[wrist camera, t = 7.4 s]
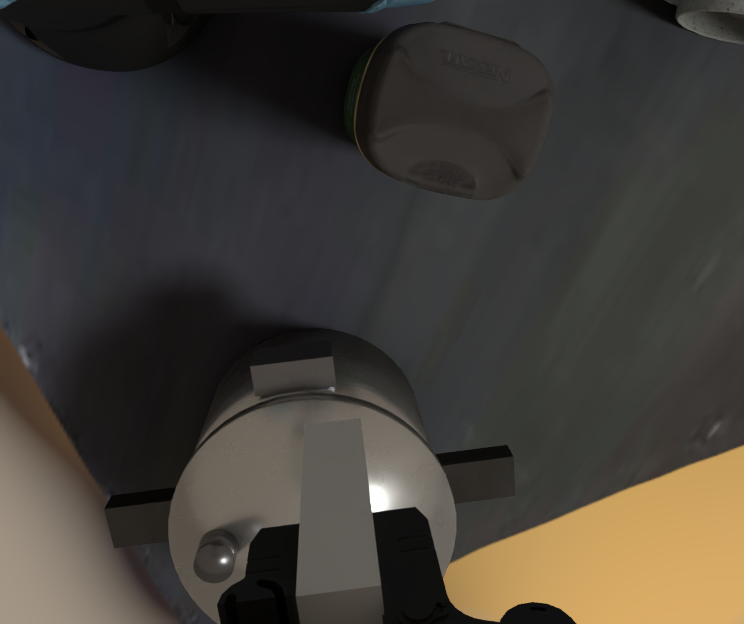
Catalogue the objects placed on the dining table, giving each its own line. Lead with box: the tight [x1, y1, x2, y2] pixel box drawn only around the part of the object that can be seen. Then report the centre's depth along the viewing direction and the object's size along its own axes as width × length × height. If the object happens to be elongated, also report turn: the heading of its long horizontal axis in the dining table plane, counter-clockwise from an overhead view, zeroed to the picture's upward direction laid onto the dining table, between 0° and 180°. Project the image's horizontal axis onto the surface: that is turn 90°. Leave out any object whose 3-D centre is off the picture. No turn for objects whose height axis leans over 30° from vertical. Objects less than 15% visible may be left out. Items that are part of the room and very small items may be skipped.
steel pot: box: [104, 329, 515, 548], centre depth 50 cm, size 19×27×12 cm
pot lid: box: [168, 392, 456, 624], centre depth 43 cm, size 22×18×3 cm
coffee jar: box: [343, 22, 554, 200], centre depth 40 cm, size 10×8×19 cm
